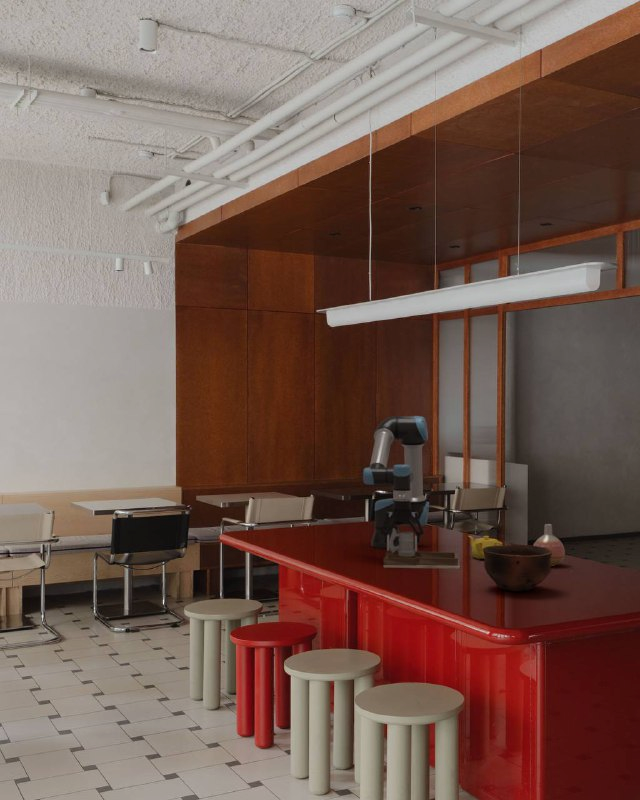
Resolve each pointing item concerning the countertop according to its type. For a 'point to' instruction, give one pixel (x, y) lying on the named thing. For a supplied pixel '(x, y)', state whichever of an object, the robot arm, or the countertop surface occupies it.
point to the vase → (551, 545)
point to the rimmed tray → (422, 560)
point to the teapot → (482, 545)
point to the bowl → (517, 566)
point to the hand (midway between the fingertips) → (402, 550)
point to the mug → (403, 543)
